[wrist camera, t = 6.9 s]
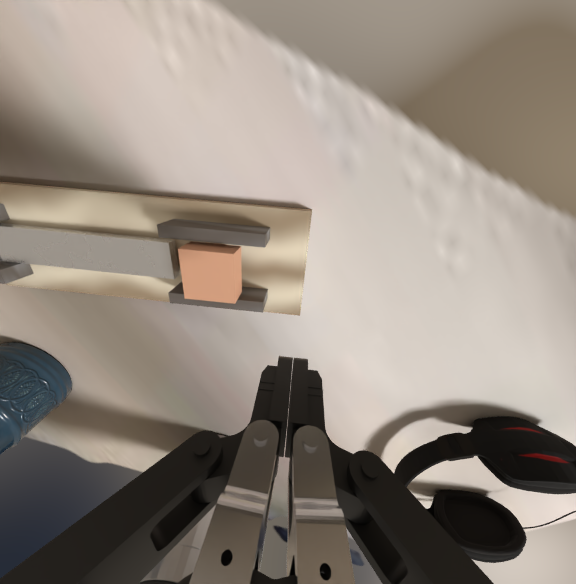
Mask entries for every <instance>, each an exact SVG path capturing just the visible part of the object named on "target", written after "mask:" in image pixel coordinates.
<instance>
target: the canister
mask: <svg viewBox="0 0 576 584" xmlns="http://www.w3.org/2000/svg"><path fill="white" fill-rule="evenodd" d="M71 390H72V381H71V378H70V376H69V374H68V372H67V371H66V370H65V368H64V367H63V366H62V365H61V364H60V363H59V362H58V361H57V360H55V359H54V358H53V357H51V356H50V355H49V354H47V353H45V352H43V351H42V350H40V349H37V348H35V347H33V346H30V345H26V344H22V343H15V342H8V343H3V344H0V455H1V454H2V453H3V452H4V451H5V450H6V449H9V448H12V447H14V446H16V445H17V444H18V443H19V442H20V441H21V439H22V438H23V437H24V436H25V435H26V434H27V433H28V432H29V431H31V430H32V429H33V428H34V427H35V426H36V425H37V424H38V423H39V422H40V421H41V420H42V419H43V418H45V417H46V416H47V415H48V414H49V413H50V412H51V411H52V410H54V409H56V408H57V407H58V406H59V405H60V404H61V403H62V402H63V401H64V400H65V399H66V397H67V396H68V395H69V393H70V392H71Z"/></svg>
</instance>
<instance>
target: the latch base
mask: <svg viewBox="0 0 576 584" xmlns="http://www.w3.org/2000/svg"><path fill="white" fill-rule="evenodd" d="M311 215H312V209H301V208H290V207H278V206H267V205H256V204H245V203H234V202H222V201H211V200H200V199H189V198H178V197H166V196H155V195H144V194H133V193H122V192H110V191H99V190H88V189H77V188H65V187H54V186H43V185H32V184H21V183H9V182H0V223H8V224H18V225H28V226H38V227H48V228H58V229H69V230H79V231H89V232H99V233H109V234H119V235H129V236H140V237H150V238H160V239H170V240H175V246H176V253H177V260H178V267H179V274H180V275H179V276H178V277H176V278H175V279H167V278H158V277H148V276H139V275H129V274H120V273H110V272H101V271H92V270H82V269H73V268H63V267H54V266H44V265H35V264H25V263H16V262H6V261H0V283H2V284H6V285H12V286H21V287H31V288H40V289H50V290H60V291H69V292H79V293H89V294H98V295H108V296H117V297H127V298H137V299H146V300H156V301H166V302H170V303H177V304H187V305H197V306H206V307H216V308H225V309H235V310H245V311H254V312H271V313H281V314H291V315H300V310H301V301H302V293H303V284H304V275H305V267H306V258H307V249H308V241H309V232H310V223H311ZM190 241H193V242H204V243H214V244H225V245H235V246H241V266H242V292H241V294H240V296H239V298H238V300H237V301H236V303H235V304H233V303H223V302H214V301H204V300H194V299H185V297H184V290H183V283H182V275H181V268H180V261H179V253H178V248H180V247H182V246H183V245H185V244H187V243H189V242H190Z"/></svg>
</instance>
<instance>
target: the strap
mask: <svg viewBox="0 0 576 584" xmlns="http://www.w3.org/2000/svg"><path fill="white" fill-rule="evenodd" d="M0 261H6V262H16V263H25V264H35V265H44V266H54V267H63V268H73V269H82V270H92V271H101V272H110V273H120V274H129V275H139V276H148V277H158V278H167V279H175V278H176V277H178V276H179V275H180V274H179V267H178V260H177V253H176V246H175V240H170V239H160V238H150V237H140V236H129V235H119V234H109V233H99V232H89V231H79V230H69V229H58V228H48V227H38V226H28V225H18V224H8V223H0Z"/></svg>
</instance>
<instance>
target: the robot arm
mask: <svg viewBox="0 0 576 584" xmlns="http://www.w3.org/2000/svg"><path fill="white" fill-rule="evenodd" d="M292 361H293V358H291V357H282V356H279V359H278V366H269V365H268V366H267V367H266V368H265V369H264V371H263V372H262V374H261V379H260V383H259V387H258V392H257V396H256V400H255V404H254V409H253V413H252V417H251V421H250V423H249V424H248V426H247V427H246V428H245V429H244V430H243V431H241V432H240V433H238V434H235V435H231V436H223V435H218V434H216V433H215V432H212V431H202V432H199V433H197V434H195V435H193V436H192V437H190V438H189V439H188V440H186V441H185V442H184V443H182V444H181V445H180V446H178V447H177V448H176V449H174V450H173V451H172V452H170V453H169V454H168V455H166V456H165V457H164V458H162V459H161V460H159V461H158V462H157V463H155V464H154V465H153V466H151V467H150V468H149V469H147V470H146V471H145V472H143V473H142V474H141V475H139V476H138V477H137V478H135V479H134V480H132V481H131V482H130V483H128V484H127V485H126V486H124V487H123V488H122V489H120V490H119V491H118V492H116V493H115V494H114V495H112V496H111V497H110V498H108V499H107V500H106V501H104V502H103V503H101V504H100V505H99V506H97V507H96V508H95V509H93V510H92V511H91V512H90V513H88V514H87V515H86V516H84V517H83V518H82V519H80V520H79V521H77V522H76V523H75V524H73V525H72V526H71V527H69V528H68V529H66V530H65V531H64V532H62V533H61V534H60V535H58V536H57V537H56V538H54V539H53V540H52V541H50V542H49V543H48V544H46V545H45V546H43V547H42V548H41V549H40V550H38V551H37V552H35V553H34V554H33V555H31V556H30V557H29V558H27V559H26V560H25V561H23V562H22V563H21V564H19V565H18V566H17V567H16V568H14V569H12V570H11V571H10V572H8V573H7V574H6V575H4V576H3V577H2V578H0V584H355V579H354V573H353V568H352V561H351V555H350V548H349V542H348V536H347V530H346V528H347V529H348V531H349V532H350V534H351V535H352V537H353V538H354V540H355V541H356V543H357V545H358V546H359V548H360V549H361V551H362V552H363V554H364V555H365V557H366V559H367V560H368V562H369V563H370V565H371V566H372V568H373V569H374V571H375V572H376V574H377V576H378V577H379V578H380V580H381V582H382V583H383V584H493V583H492V581H491V580H490V579H489V578H488V577H487V576H486V575H485V574H484V573H483V572H482V570H481V569H480V568H479V567H478V566H477V565H476V564H475V563H474V562H473V560H472V559H471V558H470V557H469V556H468V555H467V554H466V553H465V552H464V550H463V549H462V548H461V547H460V546H459V545H458V544H457V543H456V542H455V541H454V539H453V538H452V537H451V536H450V535H449V534H448V533H447V532H446V531H445V530H444V528H443V527H442V526H441V525H440V524H439V523H438V522H437V521H436V520H435V518H434V517H433V516H432V515H431V514H430V513H429V512H428V511H427V510H426V509H425V507H424V506H423V505H422V504H421V503H420V502H419V501H418V500H417V499H416V498H415V496H414V495H413V494H412V493H411V492H410V491H409V490H408V489H407V488H406V487H405V485H404V484H403V483H402V482H401V481H400V480H399V479H398V478H397V477H396V476H395V474H394V473H393V472H392V471H391V470H390V469H389V468H388V467H387V466H386V464H385V463H384V462H383V461H382V460H381V459H380V458H379V457H378V456H376V455H375V454H373V453H371V452H369V451H358V452H356V453H354V454H352V453H350V452H348V451H346V450H343V449H341V448H340V447H338V446H336V445H335V444H334V443H333V442H332V441H331V440H330V439H329V437H328V435H327V433H326V430H325V420H324V405H323V390H322V379H321V377H320V375H319V373H318V371H314V370H308V359H301V358H294V361H293V371H292ZM291 372H292V380H291ZM290 384H291V391H290ZM289 396H290V403H289ZM288 408H289V415H288ZM287 419H288V427H287ZM286 429H287V439H286V451H285V457H289V458H290V462H289V474H288V546H287V577H284V578H280V579H271V578H269V577H268V576H266V575H264V574H262V573H261V572H260V566H261V560H262V554H263V547H264V539H265V533H266V528H267V522H268V516H269V511H270V505H271V499H272V494H273V488H274V482H275V477H276V475H277V471H278V461H279V456H280V457H284V447H285V438H286Z"/></svg>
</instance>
